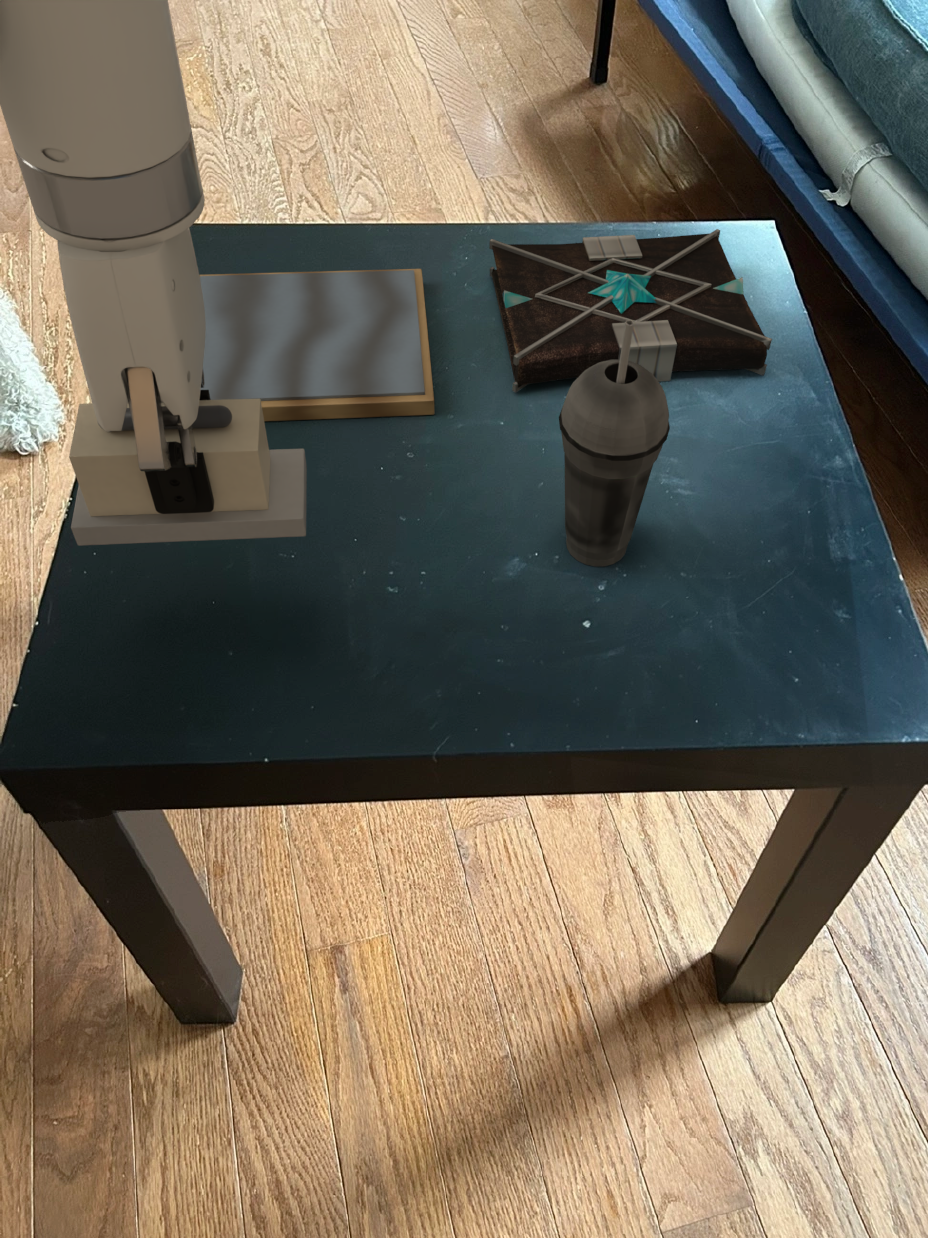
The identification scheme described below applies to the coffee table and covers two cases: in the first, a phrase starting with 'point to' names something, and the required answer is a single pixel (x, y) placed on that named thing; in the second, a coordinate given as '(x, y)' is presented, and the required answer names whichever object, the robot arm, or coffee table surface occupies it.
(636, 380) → the beverage cup
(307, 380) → the board
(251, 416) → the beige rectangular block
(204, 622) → the coffee table surface
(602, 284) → the book
